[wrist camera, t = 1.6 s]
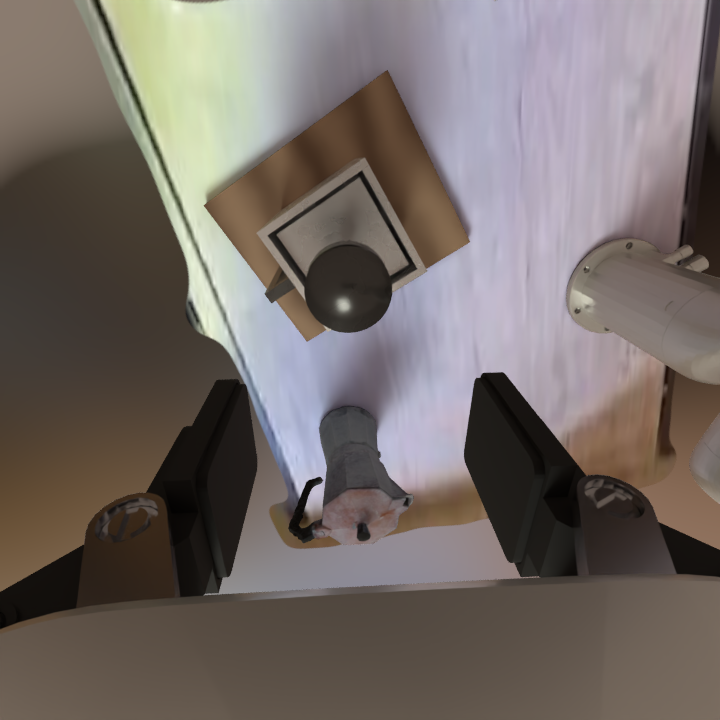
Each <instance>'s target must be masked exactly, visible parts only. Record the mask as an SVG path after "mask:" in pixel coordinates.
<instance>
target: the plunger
mask: <svg viewBox="0 0 720 720" xmlns="http://www.w3.org/2000/svg"><path fill="white" fill-rule="evenodd" d="M276 235H277V236H278V237H279V239H280V240H281V242H282V243H283V245H284V246H285V247H286V249H287V250H288V252H289V253H290V255H291V256H292V257H293V259H294V260H295V262H296V263H297V265H298V266H299V267H300V269H301V270H302V272H303V273H304V275H305V276H306V280H305V287H304V294H305V300H306V303H307V306H308V308H309V310H310V312H311V313H312V315H313V316H314V317H315V319H316V320H318V321H319V322H320V323H321V324H322V325H324V326H325V327H327V328H329V329H332V330H334V331H338V332H345V333H351V332H358V331H362V330H365V329H367V328H369V327H371V326H372V325H374V324H375V323H377V322H378V321H379V320H380V319H381V318H382V317H383V315H384V314H385V312H386V311H387V309H388V307H389V304H390V302H391V297H392V282H391V278H390V276H391V275H392V274H394V273H396V272H397V271H399V270H400V269H402V268H404V267H405V266H407V265H408V262H407V260H406V258H405V257H404V255H403V253H402V251H401V250H400V248H399V246H398V244H397V243H396V241H395V239H394V237H393V236H392V234H391V232H390V230H389V228H388V227H387V225H386V223H385V221H384V220H383V218H382V216H381V214H380V213H379V211H378V209H377V207H376V206H375V204H374V202H373V200H372V198H371V197H370V195H369V193H368V191H367V190H366V188H365V186H364V184H363V183H362V181H361V179H360V177H358V178H357V179H355V180H354V181H353V182H351V183H350V184H348V185H347V186H345V187H344V188H342V189H341V190H339V191H338V192H337V193H335V194H334V195H332V196H331V197H329V198H328V199H326V200H325V201H323V202H322V203H321V204H319V205H318V206H316V207H315V208H313V209H312V210H310V211H309V212H307V213H306V214H305V215H303V216H302V217H300V218H299V219H297V220H296V221H294V222H293V223H291V224H290V225H289V226H287V227H286V228H284V229H283V230H281V231H280V232H278V233H277V234H276Z"/></svg>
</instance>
